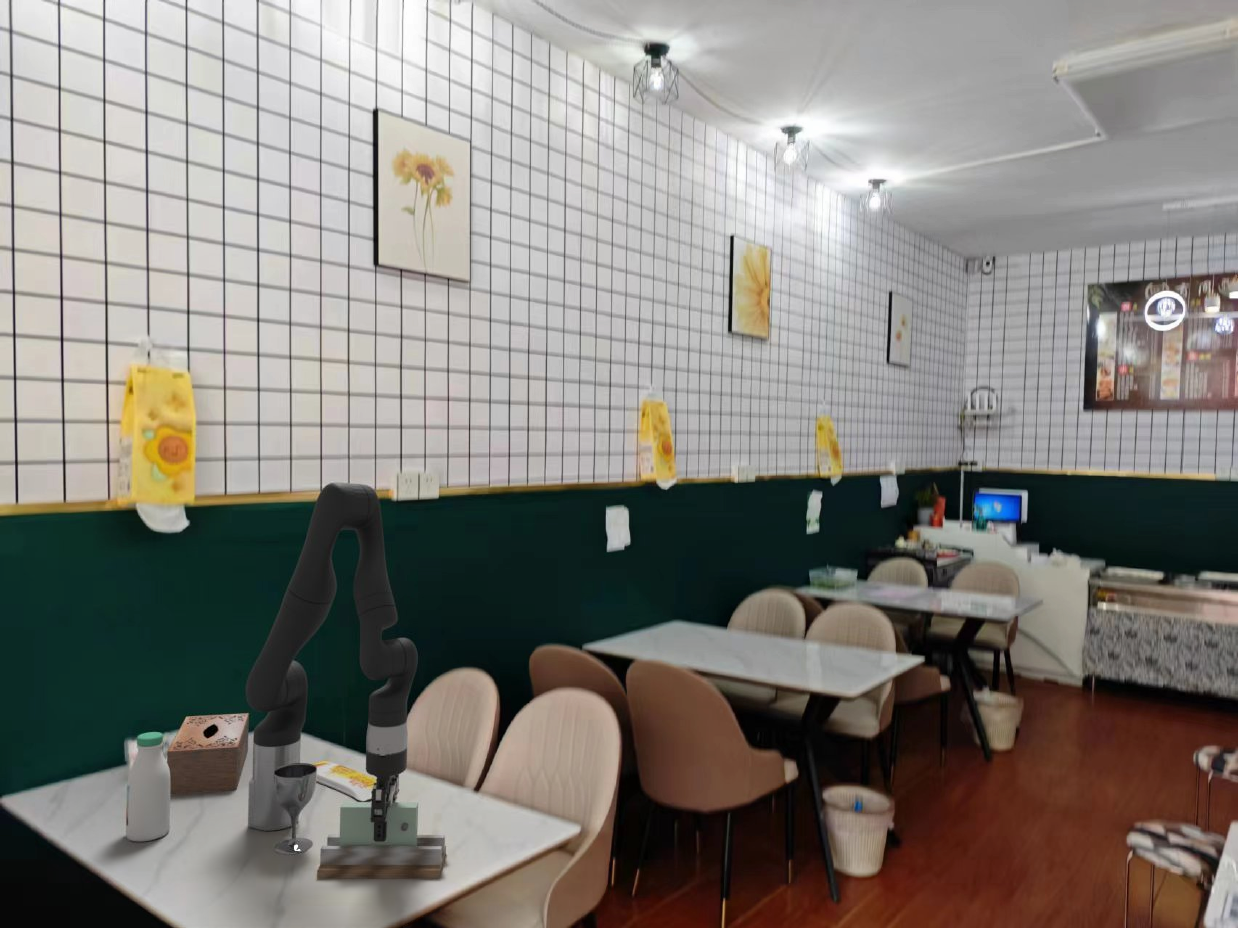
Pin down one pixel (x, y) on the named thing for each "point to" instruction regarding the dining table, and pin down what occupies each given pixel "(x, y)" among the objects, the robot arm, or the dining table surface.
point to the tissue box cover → (208, 753)
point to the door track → (383, 859)
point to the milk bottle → (148, 791)
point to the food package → (345, 780)
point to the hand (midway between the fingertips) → (384, 830)
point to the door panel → (361, 829)
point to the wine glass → (294, 800)
